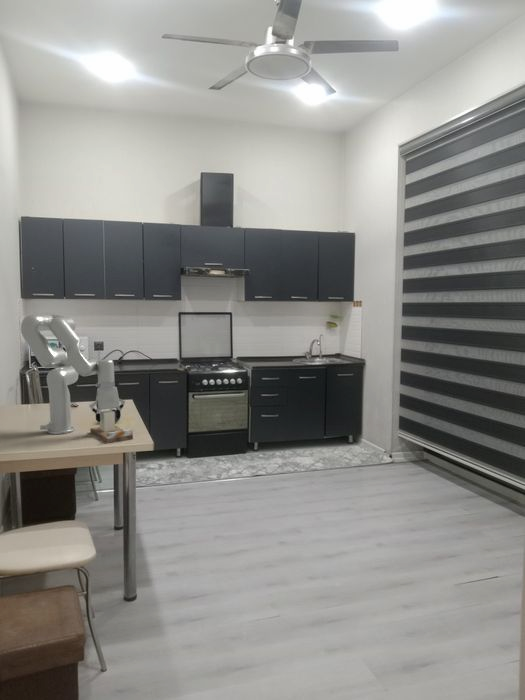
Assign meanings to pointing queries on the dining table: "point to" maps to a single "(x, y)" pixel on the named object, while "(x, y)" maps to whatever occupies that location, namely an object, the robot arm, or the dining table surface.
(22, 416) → the dining table surface
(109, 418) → the carton
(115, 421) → the ceramic mug
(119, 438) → the shelf board
